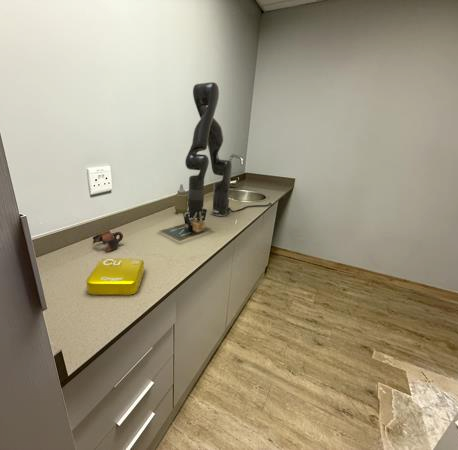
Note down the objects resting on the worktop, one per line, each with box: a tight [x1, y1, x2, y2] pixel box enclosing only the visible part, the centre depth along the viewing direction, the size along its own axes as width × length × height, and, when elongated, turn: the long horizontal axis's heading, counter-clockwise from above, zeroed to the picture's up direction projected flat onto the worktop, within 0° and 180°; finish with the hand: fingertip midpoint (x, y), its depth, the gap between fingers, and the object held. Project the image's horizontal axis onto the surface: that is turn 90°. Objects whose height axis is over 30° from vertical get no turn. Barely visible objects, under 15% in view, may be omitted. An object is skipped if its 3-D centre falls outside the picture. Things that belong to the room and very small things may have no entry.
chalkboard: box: [159, 223, 213, 242], centre depth 121 cm, size 22×16×1 cm
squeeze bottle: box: [174, 183, 189, 215], centre depth 147 cm, size 8×8×18 cm
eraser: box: [184, 218, 206, 235], centre depth 120 cm, size 5×9×5 cm, turn 45°
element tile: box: [86, 258, 145, 296], centre depth 79 cm, size 15×15×5 cm
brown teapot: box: [92, 229, 124, 253], centre depth 102 cm, size 12×10×8 cm
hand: (194, 230), depth 121 cm, fingers closed on eraser, 5 cm apart
